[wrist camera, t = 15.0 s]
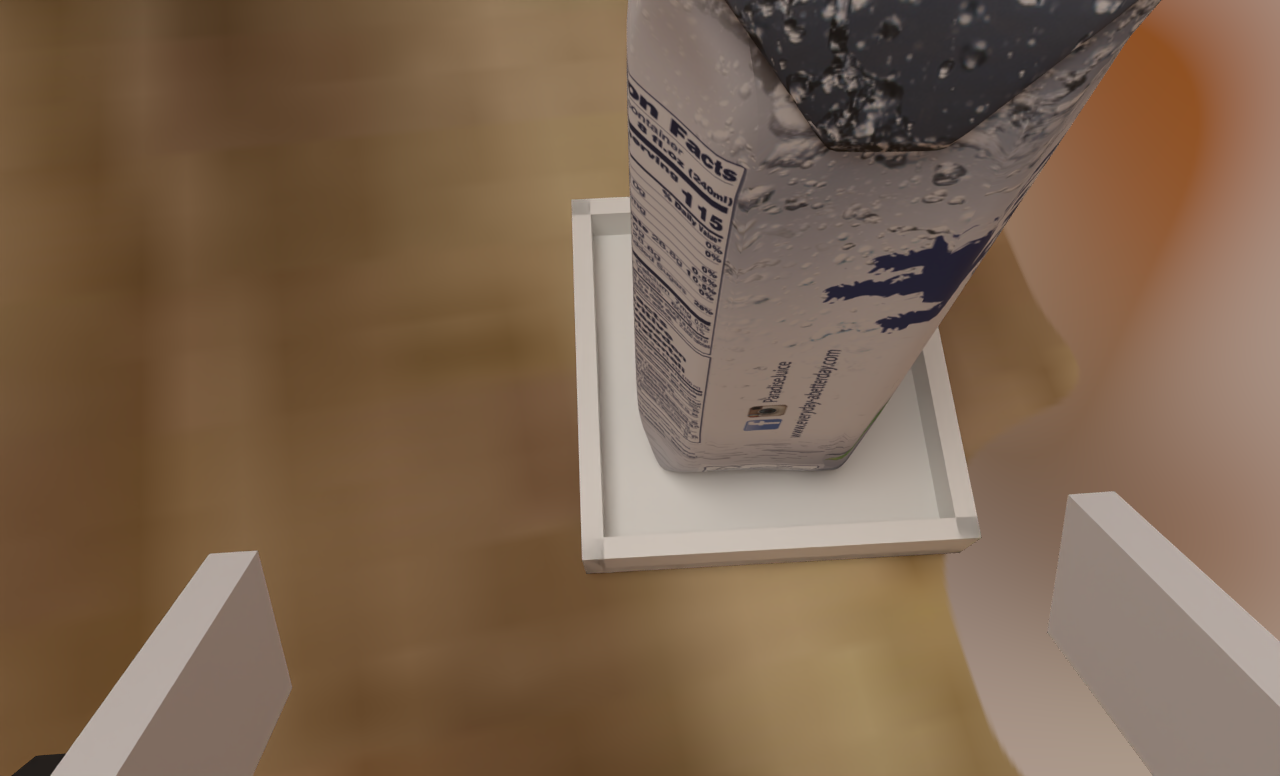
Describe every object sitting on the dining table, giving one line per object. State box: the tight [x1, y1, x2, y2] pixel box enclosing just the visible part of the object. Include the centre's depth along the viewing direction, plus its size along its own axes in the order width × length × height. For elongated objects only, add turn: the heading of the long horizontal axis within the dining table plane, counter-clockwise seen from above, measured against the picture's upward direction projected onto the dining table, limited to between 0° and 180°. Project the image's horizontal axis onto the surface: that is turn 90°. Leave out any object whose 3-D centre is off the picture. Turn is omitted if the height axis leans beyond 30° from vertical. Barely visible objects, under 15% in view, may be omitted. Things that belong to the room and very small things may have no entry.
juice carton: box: [627, 0, 1161, 472], centre depth 25 cm, size 9×10×27 cm
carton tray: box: [572, 197, 981, 574], centre depth 37 cm, size 16×15×2 cm
